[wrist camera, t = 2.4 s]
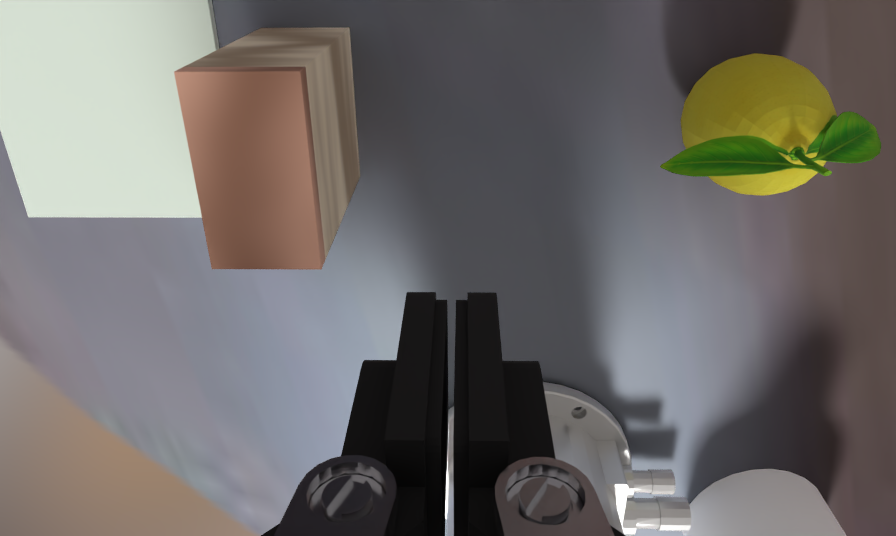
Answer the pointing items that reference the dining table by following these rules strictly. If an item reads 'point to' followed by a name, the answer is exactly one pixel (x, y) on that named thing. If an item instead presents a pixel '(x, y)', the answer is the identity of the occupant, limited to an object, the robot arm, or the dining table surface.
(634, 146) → the dining table surface
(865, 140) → the lemon
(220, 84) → the maple block
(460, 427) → the robot arm
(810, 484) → the cylinder with rectangular tab
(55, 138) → the pale green square plate
